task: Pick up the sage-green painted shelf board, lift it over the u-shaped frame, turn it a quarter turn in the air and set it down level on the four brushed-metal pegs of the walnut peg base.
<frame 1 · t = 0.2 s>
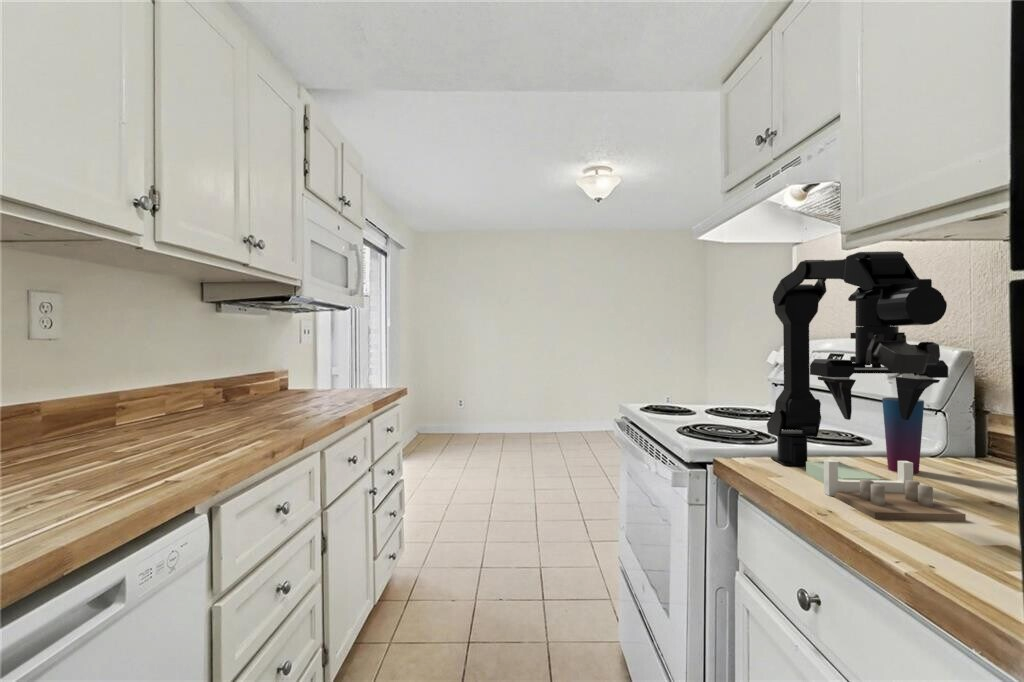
hand: (876, 419, 79), 14 cm above the worktop, fingers open, 9 cm apart
cup: (903, 471, 99), on the worktop
peg stand: (895, 508, 76), on the worktop
board: (841, 485, 90), on the worktop
u-shaped frame: (868, 495, 83), on the worktop
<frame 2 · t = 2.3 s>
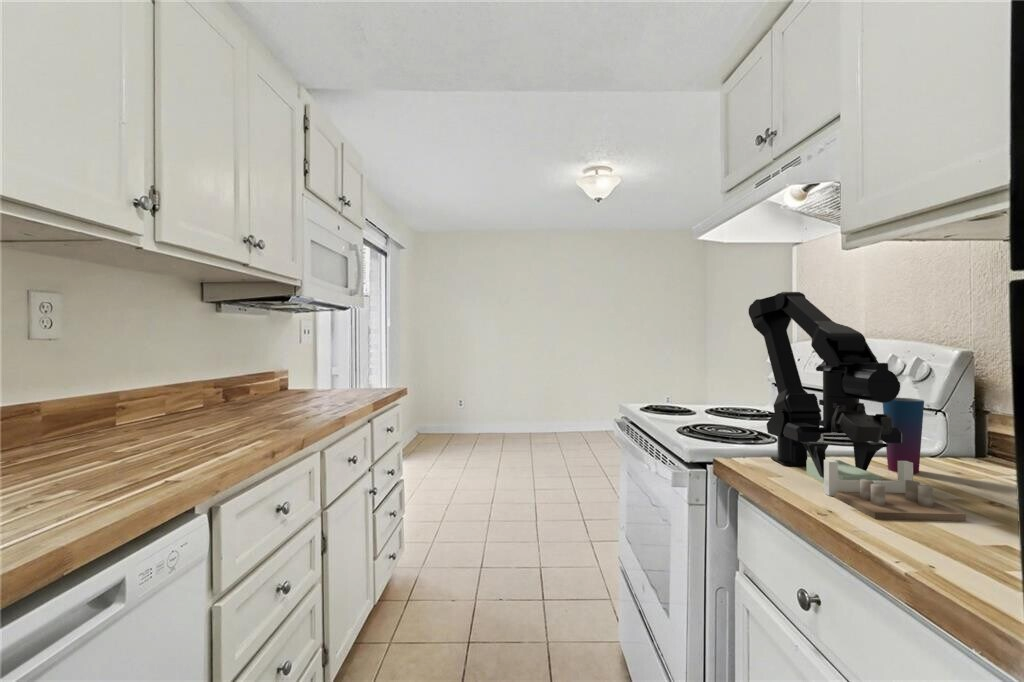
hand: (841, 477, 90), 1 cm above the worktop, fingers closed on board, 7 cm apart
board: (841, 483, 90), on the worktop, touching gripper
everything else where it was.
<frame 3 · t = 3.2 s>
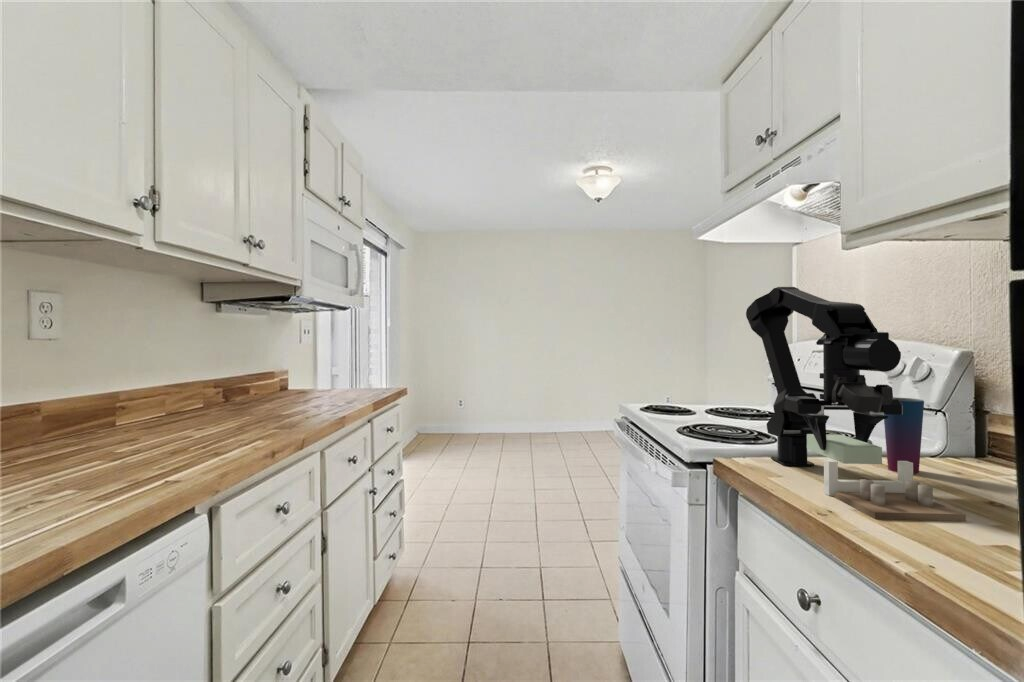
hand: (841, 450, 90), 6 cm above the worktop, fingers closed on board, 6 cm apart
board: (841, 455, 90), point 5 cm above the worktop, touching gripper
everything else where it was.
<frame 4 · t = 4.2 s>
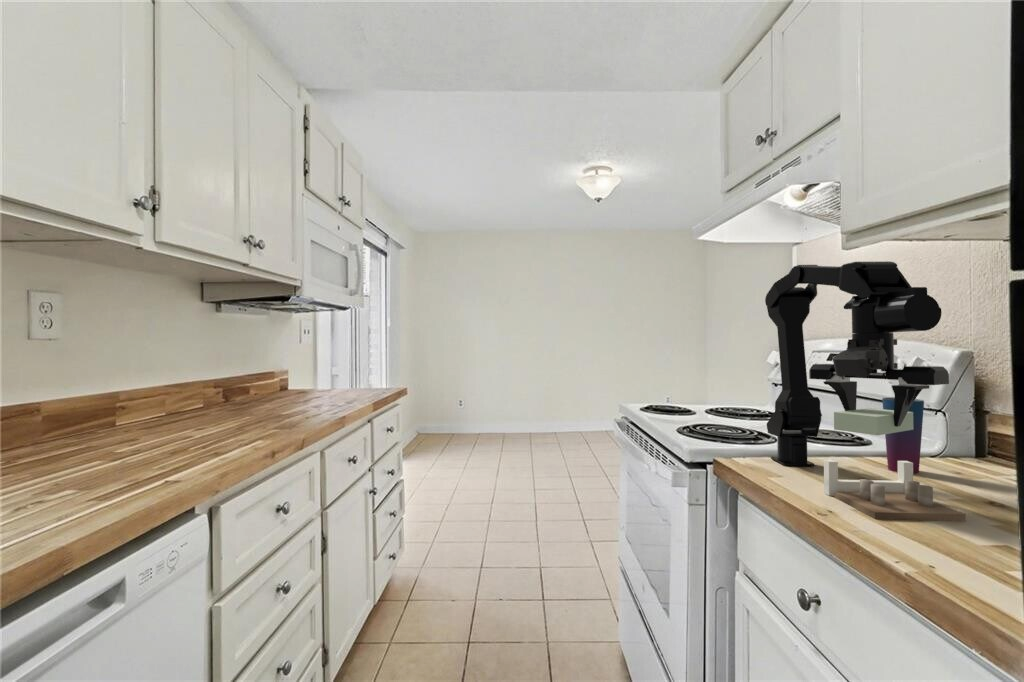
hand: (873, 423, 81), 13 cm above the worktop, fingers closed on board, 6 cm apart
board: (873, 429, 81), point 12 cm above the worktop, touching gripper
everything else where it was.
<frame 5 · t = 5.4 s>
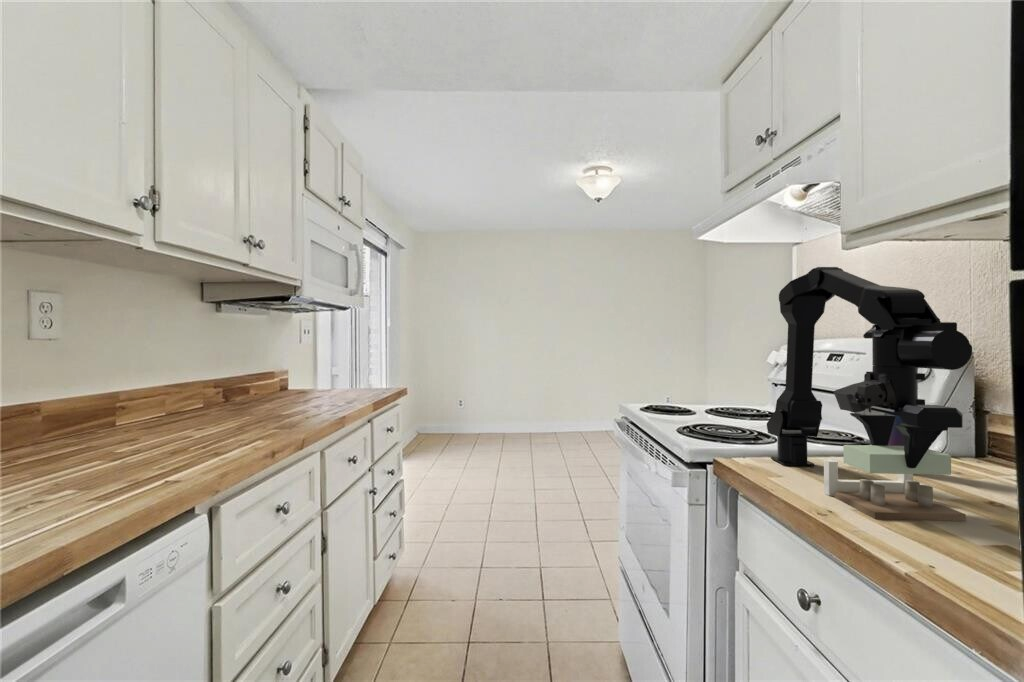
hand: (894, 462, 76), 7 cm above the worktop, fingers closed on board, 6 cm apart
board: (894, 468, 76), point 6 cm above the worktop, touching gripper
everything else where it was.
when the fingers open (6 cm above the worktop, at t = 6.2 s): board stays where it is, resting on peg stand.
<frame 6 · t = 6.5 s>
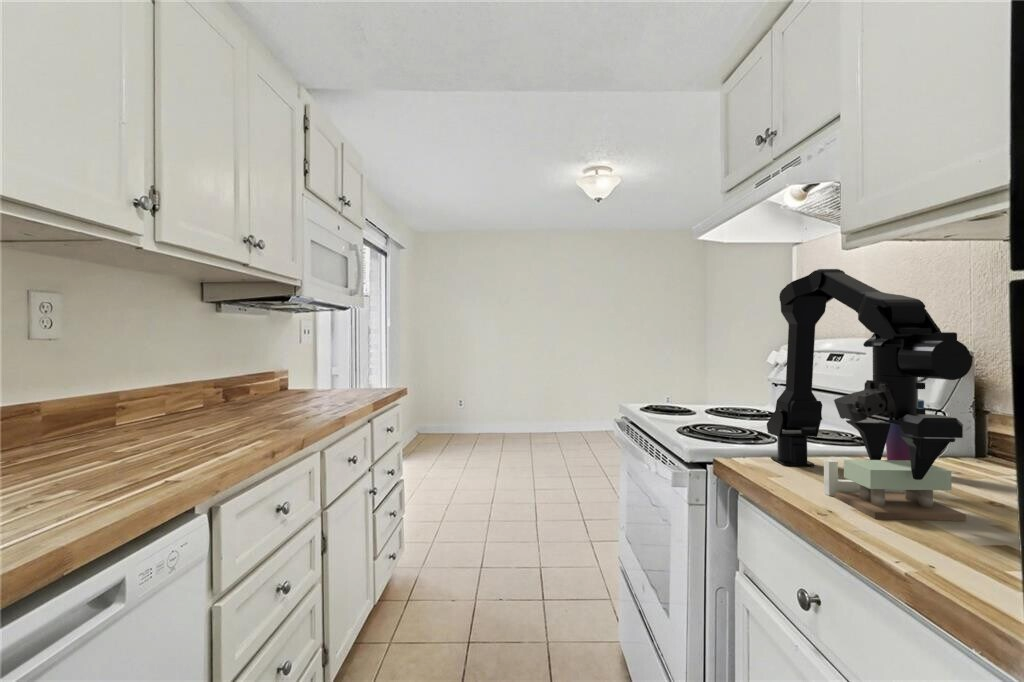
hand: (895, 471, 76), 6 cm above the worktop, fingers open, 9 cm apart
board: (895, 483, 76), point 4 cm above the worktop, touching peg stand
everything else where it was.
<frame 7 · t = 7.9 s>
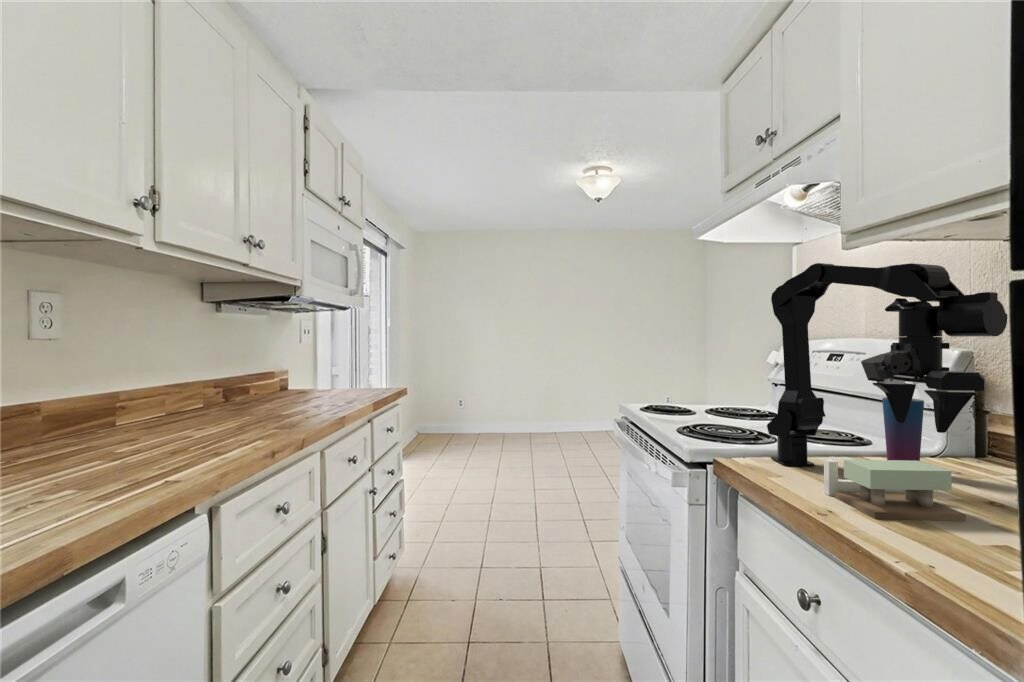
hand: (919, 427, 81), 12 cm above the worktop, fingers open, 9 cm apart
nothing on the worktop moved.
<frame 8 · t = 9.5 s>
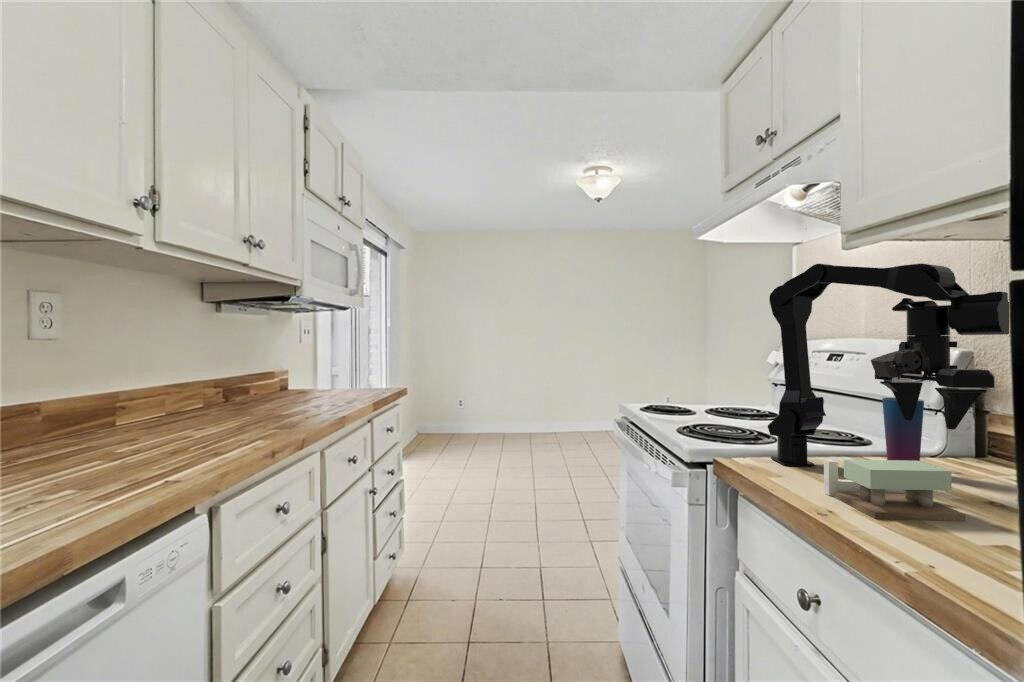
hand: (928, 424, 83), 13 cm above the worktop, fingers open, 9 cm apart
nothing on the worktop moved.
at the end: board 0.0 cm off-centre on the peg stand, point 4.0 cm above the peg stand's base; board tilted 0°; the gripper is holding nothing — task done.
